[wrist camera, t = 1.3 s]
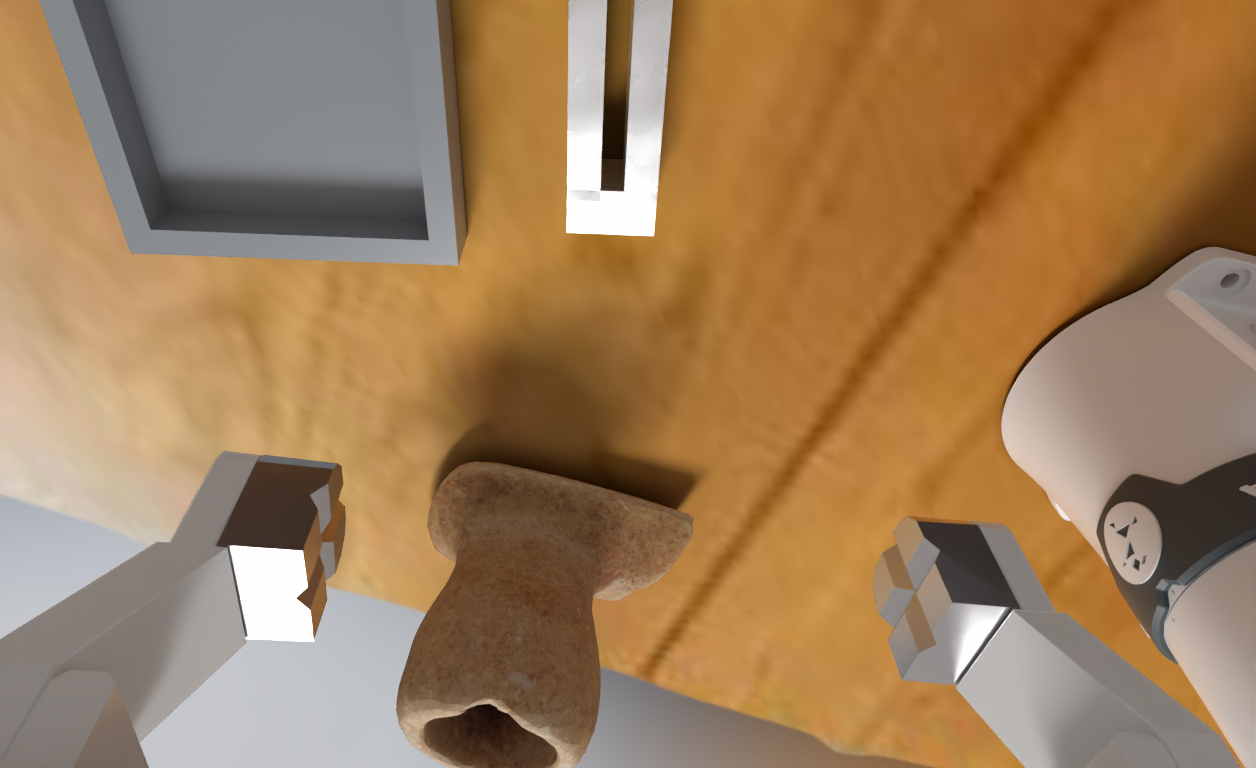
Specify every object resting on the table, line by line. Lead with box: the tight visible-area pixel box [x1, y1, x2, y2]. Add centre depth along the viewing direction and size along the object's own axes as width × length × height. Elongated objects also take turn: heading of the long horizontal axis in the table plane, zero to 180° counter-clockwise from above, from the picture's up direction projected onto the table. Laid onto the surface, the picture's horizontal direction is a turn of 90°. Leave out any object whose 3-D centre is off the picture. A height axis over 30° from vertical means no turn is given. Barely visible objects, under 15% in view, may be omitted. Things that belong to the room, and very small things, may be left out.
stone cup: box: [396, 461, 694, 768], centre depth 45 cm, size 15×12×15 cm
